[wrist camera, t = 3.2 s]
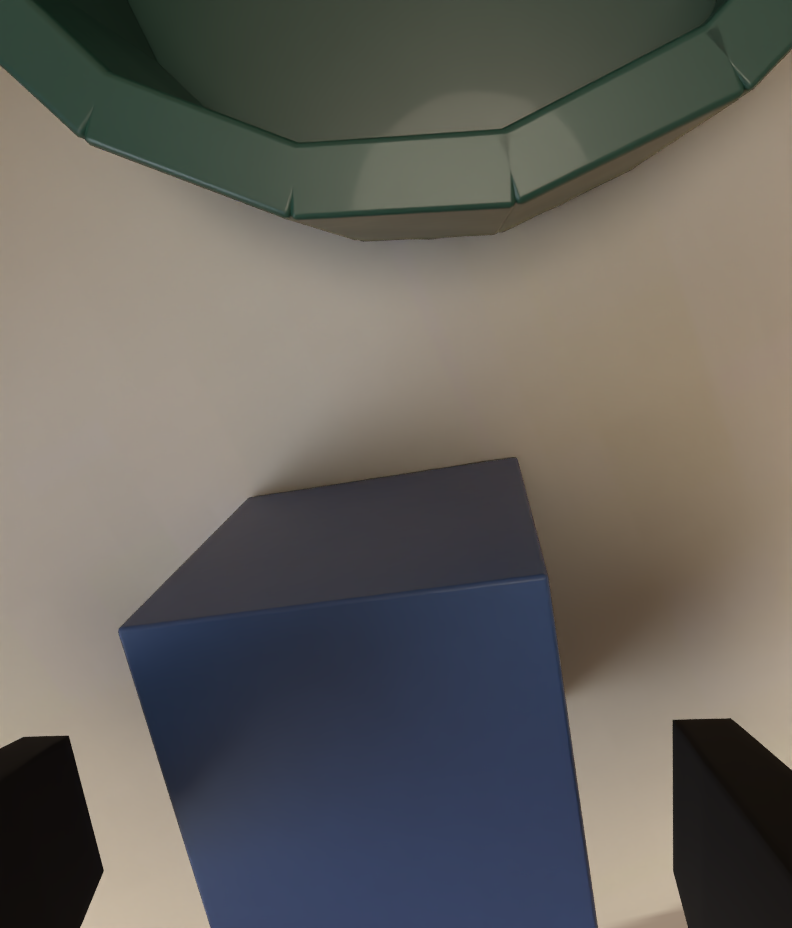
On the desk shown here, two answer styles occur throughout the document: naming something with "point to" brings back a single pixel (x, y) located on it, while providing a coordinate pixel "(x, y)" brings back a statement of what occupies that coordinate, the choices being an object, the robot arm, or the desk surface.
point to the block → (369, 710)
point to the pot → (391, 96)
